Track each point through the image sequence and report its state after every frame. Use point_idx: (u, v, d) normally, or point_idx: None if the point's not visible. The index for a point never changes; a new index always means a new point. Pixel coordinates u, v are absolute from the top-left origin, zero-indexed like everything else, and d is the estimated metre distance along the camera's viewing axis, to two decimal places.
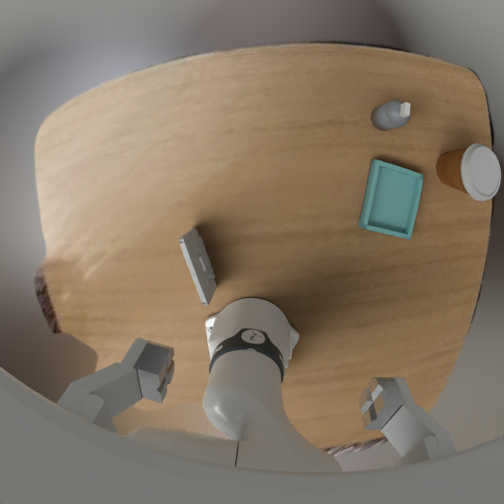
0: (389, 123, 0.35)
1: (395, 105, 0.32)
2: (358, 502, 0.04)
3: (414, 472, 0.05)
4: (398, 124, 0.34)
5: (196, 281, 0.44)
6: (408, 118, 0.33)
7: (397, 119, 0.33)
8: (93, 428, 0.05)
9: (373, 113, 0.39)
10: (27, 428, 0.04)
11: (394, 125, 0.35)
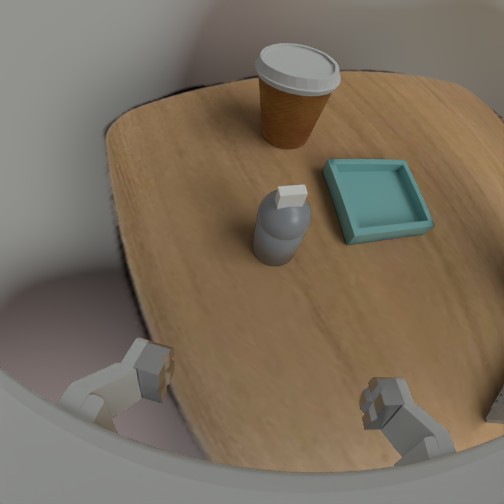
0: None
1: (284, 218, 0.20)
2: (358, 502, 0.04)
3: (414, 472, 0.05)
4: (309, 207, 0.22)
5: None
6: None
7: (307, 210, 0.21)
8: (93, 428, 0.05)
9: (277, 262, 0.27)
10: (27, 428, 0.04)
11: None
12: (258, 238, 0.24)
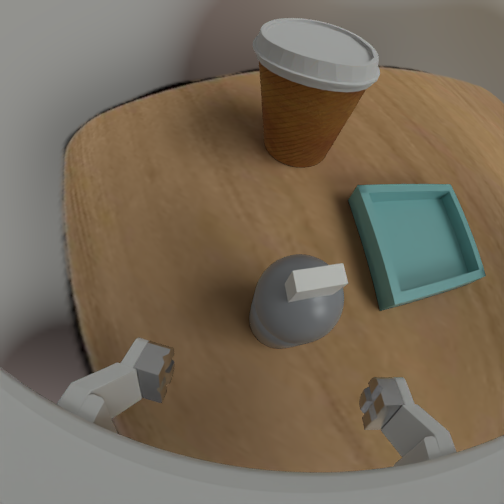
0: None
1: (301, 318, 0.11)
2: (358, 502, 0.04)
3: (414, 472, 0.05)
4: None
5: None
6: (313, 258, 0.13)
7: (339, 296, 0.12)
8: (93, 428, 0.05)
9: None
10: (27, 428, 0.04)
11: None
12: (256, 325, 0.15)
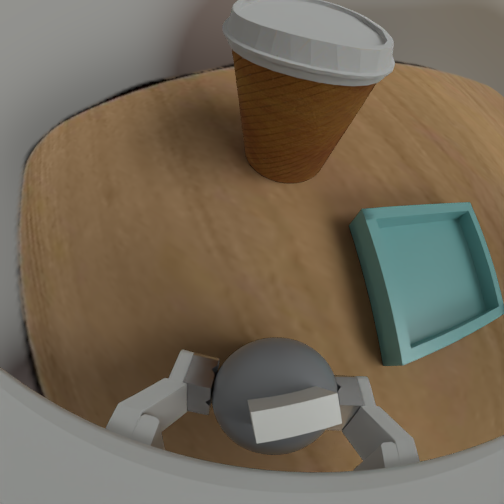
0: None
1: (272, 443, 0.07)
2: (358, 502, 0.04)
3: (414, 472, 0.05)
4: None
5: None
6: (295, 352, 0.08)
7: None
8: (93, 428, 0.05)
9: None
10: (27, 428, 0.04)
11: None
12: None
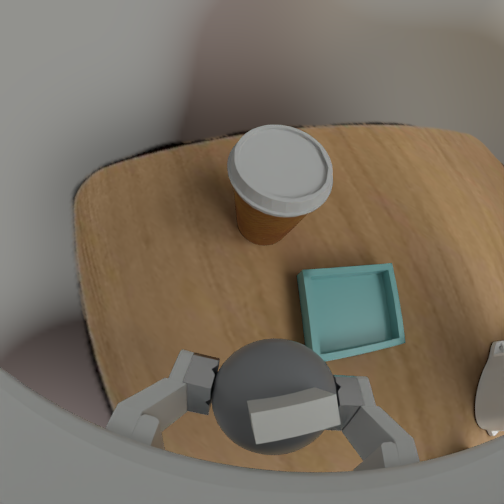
0: None
1: (271, 443, 0.07)
2: (358, 502, 0.04)
3: (414, 472, 0.05)
4: (334, 384, 0.08)
5: None
6: (294, 354, 0.08)
7: None
8: (93, 428, 0.05)
9: None
10: (27, 428, 0.04)
11: None
12: None
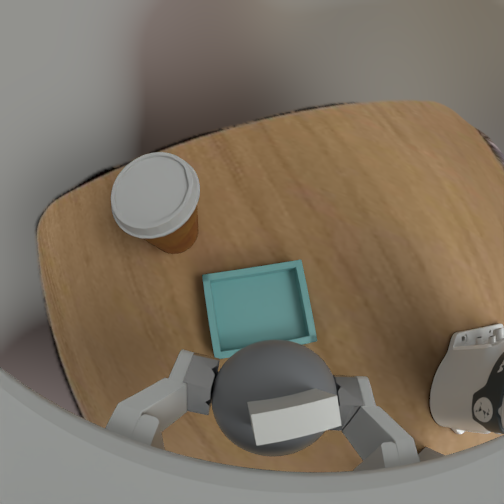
0: None
1: (271, 444, 0.07)
2: (358, 502, 0.04)
3: (414, 472, 0.05)
4: (335, 385, 0.08)
5: None
6: (294, 355, 0.08)
7: None
8: (93, 428, 0.05)
9: None
10: (27, 428, 0.04)
11: None
12: None
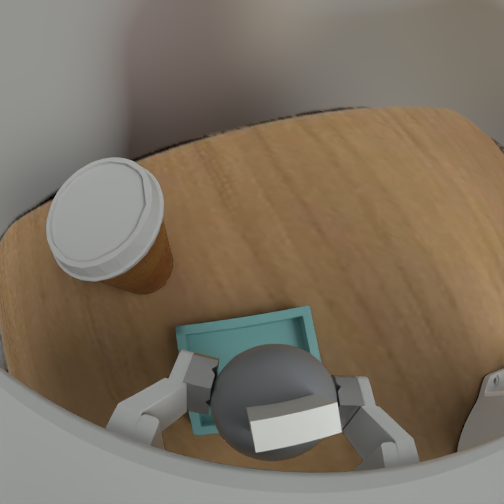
0: None
1: (271, 449, 0.07)
2: (358, 502, 0.04)
3: (414, 472, 0.05)
4: (335, 389, 0.08)
5: None
6: (294, 359, 0.08)
7: None
8: (93, 428, 0.05)
9: None
10: (27, 428, 0.04)
11: None
12: None
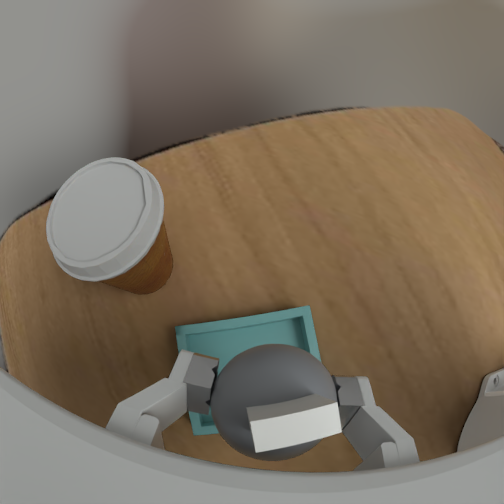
0: None
1: (271, 449, 0.07)
2: (358, 502, 0.04)
3: (414, 472, 0.05)
4: (335, 389, 0.08)
5: None
6: (294, 359, 0.08)
7: None
8: (93, 428, 0.05)
9: None
10: (27, 428, 0.04)
11: None
12: None
